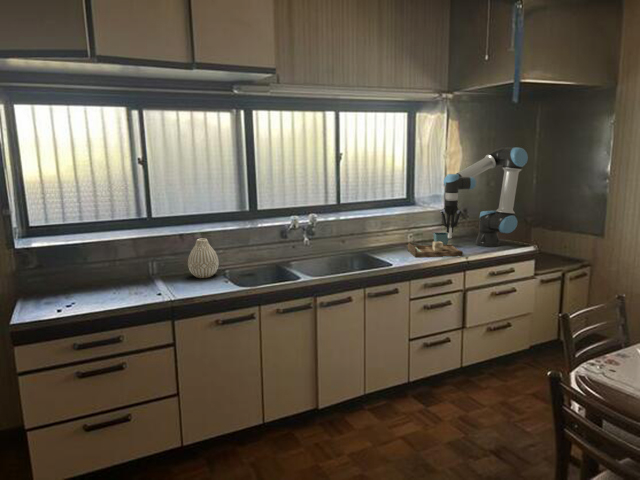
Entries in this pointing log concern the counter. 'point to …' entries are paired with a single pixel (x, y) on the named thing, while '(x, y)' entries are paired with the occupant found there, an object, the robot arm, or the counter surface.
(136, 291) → the counter surface
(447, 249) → the wooden tray
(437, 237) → the flower pot
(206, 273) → the vase
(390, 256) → the counter surface
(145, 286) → the counter surface
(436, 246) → the block
